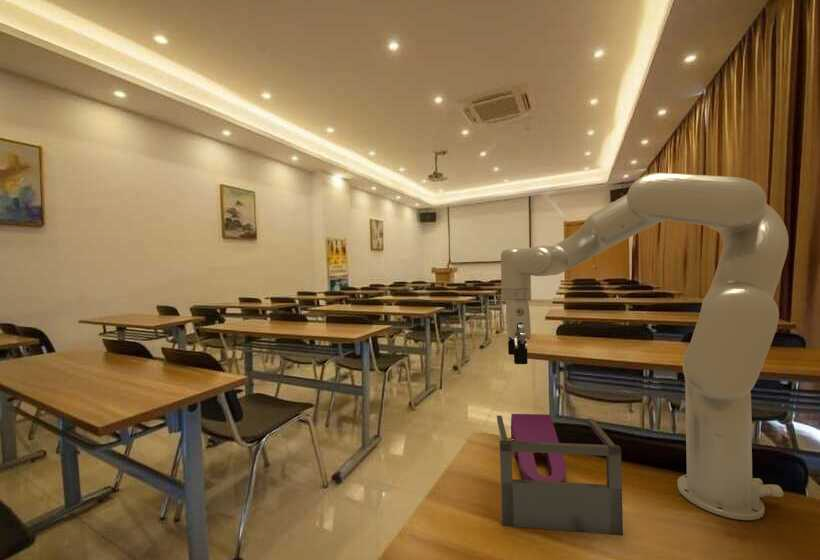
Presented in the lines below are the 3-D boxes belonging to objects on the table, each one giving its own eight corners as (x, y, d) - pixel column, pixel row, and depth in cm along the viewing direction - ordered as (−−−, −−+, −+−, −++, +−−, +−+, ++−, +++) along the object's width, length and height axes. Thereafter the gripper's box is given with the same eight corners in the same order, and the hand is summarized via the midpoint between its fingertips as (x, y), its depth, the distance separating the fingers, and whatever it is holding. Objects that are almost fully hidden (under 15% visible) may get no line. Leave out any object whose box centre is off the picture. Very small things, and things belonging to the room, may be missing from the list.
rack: (596, 491, 71) (595, 418, 71) (623, 535, 59) (621, 448, 59) (496, 484, 74) (494, 415, 74) (502, 525, 62) (499, 443, 62)
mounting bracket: (567, 509, 74) (547, 437, 90) (572, 485, 70) (550, 414, 86) (521, 507, 76) (510, 436, 92) (524, 482, 72) (511, 413, 88)
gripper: (538, 297, 83) (539, 368, 84) (524, 292, 100) (525, 351, 101) (506, 298, 84) (507, 368, 85) (497, 293, 101) (499, 351, 102)
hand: (517, 358), depth 93 cm, fingers open, 9 cm apart
